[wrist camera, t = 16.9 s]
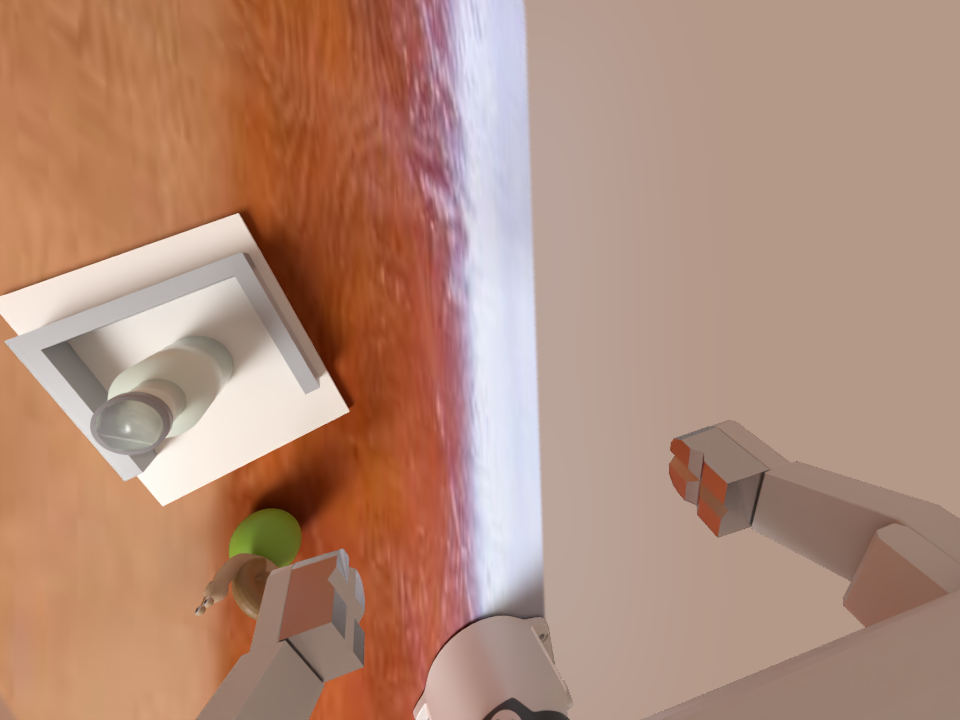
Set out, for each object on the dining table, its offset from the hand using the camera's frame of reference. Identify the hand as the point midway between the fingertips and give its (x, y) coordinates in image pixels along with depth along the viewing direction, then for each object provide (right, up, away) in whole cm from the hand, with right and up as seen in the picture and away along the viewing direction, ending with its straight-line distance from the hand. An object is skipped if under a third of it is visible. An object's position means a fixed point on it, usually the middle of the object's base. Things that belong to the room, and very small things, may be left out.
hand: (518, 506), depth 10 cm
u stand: (-23, +3, +22) cm, 32 cm away
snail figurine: (-20, -11, +27) cm, 36 cm away
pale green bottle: (-23, +3, +22) cm, 31 cm away
